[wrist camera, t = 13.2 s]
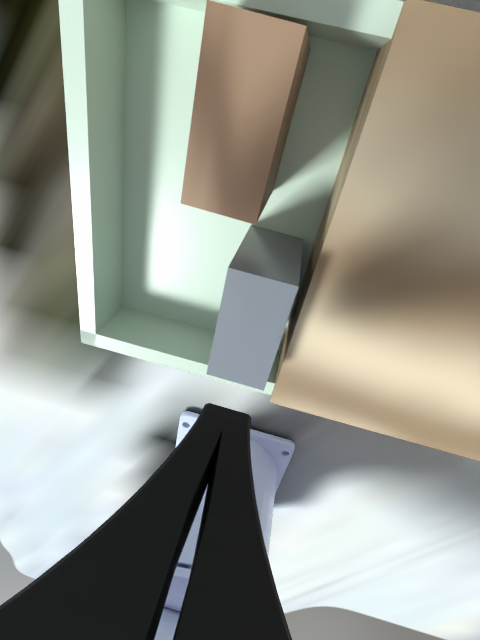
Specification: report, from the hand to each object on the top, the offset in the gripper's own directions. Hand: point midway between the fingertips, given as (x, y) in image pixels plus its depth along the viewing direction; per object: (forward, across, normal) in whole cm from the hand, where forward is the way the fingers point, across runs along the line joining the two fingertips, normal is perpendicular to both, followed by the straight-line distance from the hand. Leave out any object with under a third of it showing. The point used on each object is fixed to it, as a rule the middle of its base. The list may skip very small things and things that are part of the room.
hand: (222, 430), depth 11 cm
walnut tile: (+6, +1, -8) cm, 10 cm away
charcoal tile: (+6, -1, -1) cm, 6 cm away
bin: (+9, +3, -4) cm, 11 cm away
